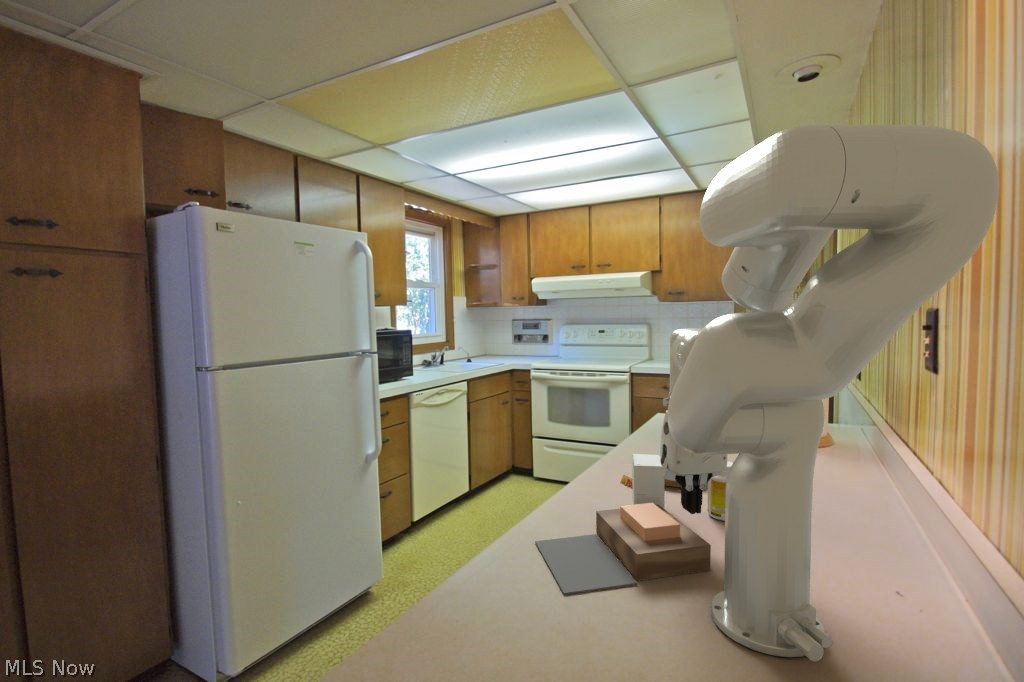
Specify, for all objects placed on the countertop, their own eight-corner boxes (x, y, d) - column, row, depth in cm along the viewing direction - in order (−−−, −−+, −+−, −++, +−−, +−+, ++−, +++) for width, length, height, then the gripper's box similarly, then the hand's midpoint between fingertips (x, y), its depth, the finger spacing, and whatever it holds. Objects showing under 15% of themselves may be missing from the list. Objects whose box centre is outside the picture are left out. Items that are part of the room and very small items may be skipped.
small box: (664, 522, 93) (664, 466, 92) (633, 520, 94) (633, 465, 93) (660, 505, 100) (660, 454, 100) (632, 503, 102) (632, 453, 101)
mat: (636, 584, 72) (637, 582, 72) (564, 595, 70) (564, 592, 70) (595, 535, 87) (595, 534, 87) (535, 542, 85) (535, 541, 85)
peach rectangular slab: (680, 536, 78) (680, 524, 78) (644, 541, 77) (644, 528, 77) (652, 513, 87) (652, 502, 87) (620, 517, 85) (620, 506, 85)
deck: (710, 570, 75) (710, 544, 75) (637, 580, 73) (637, 554, 73) (658, 525, 91) (658, 504, 91) (596, 533, 88) (596, 511, 88)
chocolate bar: (654, 503, 103) (654, 492, 102) (619, 485, 114) (619, 475, 113) (664, 501, 104) (664, 490, 104) (628, 483, 115) (628, 473, 114)
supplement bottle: (744, 521, 92) (745, 467, 91) (715, 522, 92) (715, 468, 91) (730, 509, 98) (731, 458, 97) (702, 510, 98) (702, 459, 97)
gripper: (663, 411, 77) (661, 525, 79) (748, 405, 80) (745, 515, 82) (640, 401, 84) (640, 506, 86) (719, 396, 87) (717, 497, 89)
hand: (691, 510), depth 84 cm, fingers closed
